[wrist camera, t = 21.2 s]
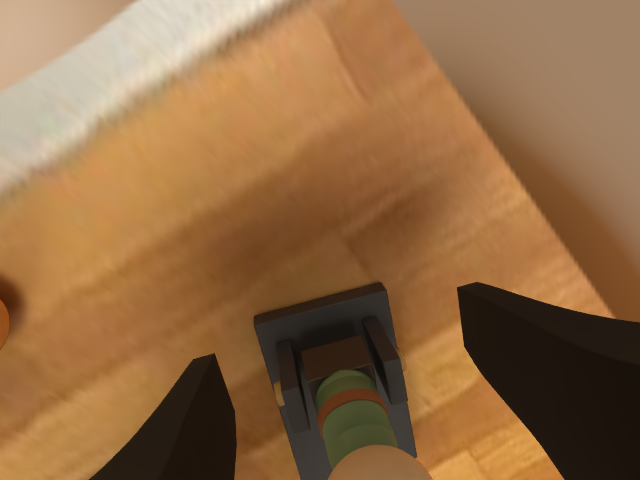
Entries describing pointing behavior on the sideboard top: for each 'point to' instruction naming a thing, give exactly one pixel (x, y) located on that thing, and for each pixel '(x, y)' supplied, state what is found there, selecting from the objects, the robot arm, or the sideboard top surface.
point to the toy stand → (320, 329)
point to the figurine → (3, 324)
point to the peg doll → (355, 415)
